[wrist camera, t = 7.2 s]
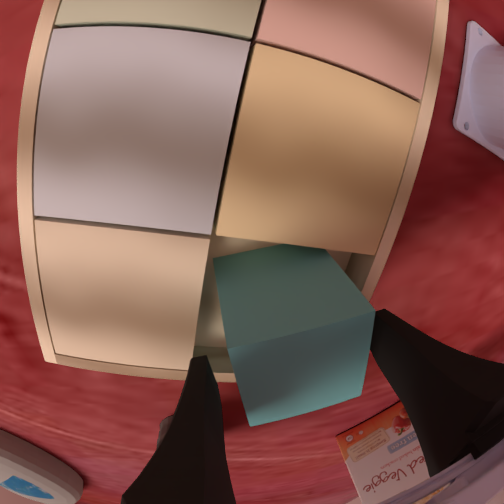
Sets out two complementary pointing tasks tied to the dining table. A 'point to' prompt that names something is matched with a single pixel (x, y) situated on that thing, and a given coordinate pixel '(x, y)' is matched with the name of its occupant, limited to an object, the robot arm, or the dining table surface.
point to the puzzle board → (209, 159)
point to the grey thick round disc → (36, 473)
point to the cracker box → (387, 457)
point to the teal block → (292, 330)
